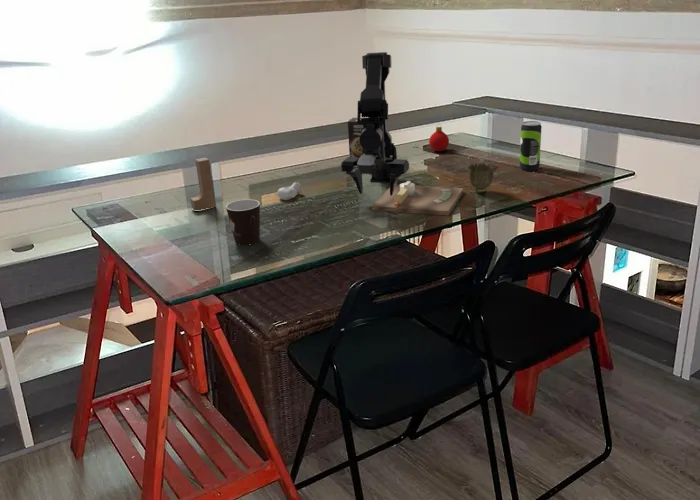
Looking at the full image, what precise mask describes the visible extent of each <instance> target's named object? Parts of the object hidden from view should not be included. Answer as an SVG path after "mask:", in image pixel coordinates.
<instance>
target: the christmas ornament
mask: <svg viewBox="0 0 700 500" xmlns="http://www.w3.org/2000/svg"><path fill="white" fill-rule="evenodd" d="M438 125H439V123H437V125H436V127H435V132H433V133H432V134H431V135H430V137H429V139H428V144H429V146H430V148H431V149H432V150H433V151H435V152H442V151H445V150H446V149H447V148H448V147H449V144H450V139H449V136H448V135H447V134H446V133H445V132H444V131H443V130H442V129H443V127H441V126H438Z"/></svg>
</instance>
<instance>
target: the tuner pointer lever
mask: <svg viewBox="0 0 700 500" xmlns="http://www.w3.org/2000/svg"><path fill="white" fill-rule="evenodd" d="M399 185H400V191H399V193H398V194H397V195H396V196H395V197H394V201H395V204H394V206H397V205H398V204H401V203H402V202H403V201H404V200H405V199H406V197H407V196H410V195H414V194H415V186H416V184H415V183H414V182H411V181H410V180H407V181H406V182H402V183H400V184H399Z"/></svg>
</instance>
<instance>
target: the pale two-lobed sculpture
mask: <svg viewBox="0 0 700 500" xmlns="http://www.w3.org/2000/svg"><path fill="white" fill-rule="evenodd" d="M302 190H303V188H302V185H301V184H300V183H299V182H297V181H296V182H293V183H292V185H289V186H284V187H280V188H279V189H277V197H278V198H279V199H281V200H284V201H289V200H291V199H294V198H295V197H296V196H297V195H300V194H301V193H302Z"/></svg>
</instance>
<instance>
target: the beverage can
mask: <svg viewBox="0 0 700 500" xmlns="http://www.w3.org/2000/svg"><path fill="white" fill-rule="evenodd" d="M521 124H522V125H521V127H520V148H519V153H520V154H519V168H520V169H521V170H522V171H524V172H525V171H526V172H533V171H537V170H538V169H539V168H540V162H541V144H542V143H541V141H542V125H541V124H542V122H541V121H537V120H528V121H522V123H521Z"/></svg>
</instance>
